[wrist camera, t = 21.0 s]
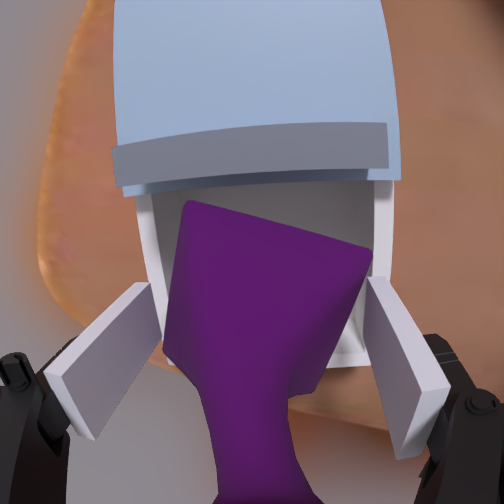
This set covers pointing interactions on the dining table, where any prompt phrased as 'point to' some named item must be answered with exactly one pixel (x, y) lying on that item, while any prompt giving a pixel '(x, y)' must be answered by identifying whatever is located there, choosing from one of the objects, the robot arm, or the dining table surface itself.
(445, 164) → the dining table surface
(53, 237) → the dining table surface
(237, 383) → the perfume bottle
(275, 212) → the storage box
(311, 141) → the lid
